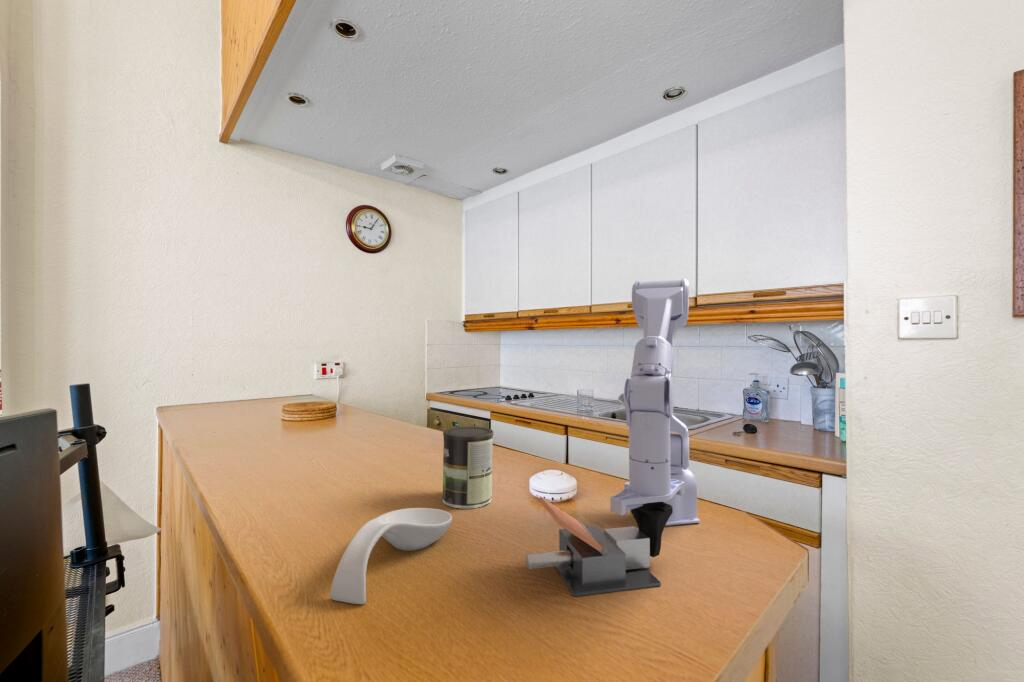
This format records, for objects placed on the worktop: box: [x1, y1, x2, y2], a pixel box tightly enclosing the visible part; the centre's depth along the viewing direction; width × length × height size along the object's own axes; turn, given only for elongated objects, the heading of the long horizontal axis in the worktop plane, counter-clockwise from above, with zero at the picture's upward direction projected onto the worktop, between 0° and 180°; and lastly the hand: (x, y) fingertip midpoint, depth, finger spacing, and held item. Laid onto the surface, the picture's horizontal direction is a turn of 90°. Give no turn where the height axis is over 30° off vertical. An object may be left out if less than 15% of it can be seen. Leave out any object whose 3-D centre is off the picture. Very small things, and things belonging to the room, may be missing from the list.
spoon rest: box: [329, 507, 453, 605], centre depth 61 cm, size 24×12×7 cm, turn 167°
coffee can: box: [441, 426, 494, 510], centre depth 86 cm, size 10×10×14 cm
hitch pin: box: [525, 525, 651, 570], centre depth 58 cm, size 17×4×4 cm, turn 103°
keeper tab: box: [538, 496, 608, 556], centre depth 58 cm, size 8×9×1 cm
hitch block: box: [554, 525, 662, 598], centre depth 58 cm, size 12×11×4 cm
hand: (650, 553), depth 60 cm, fingers closed, pressing on hitch pin
